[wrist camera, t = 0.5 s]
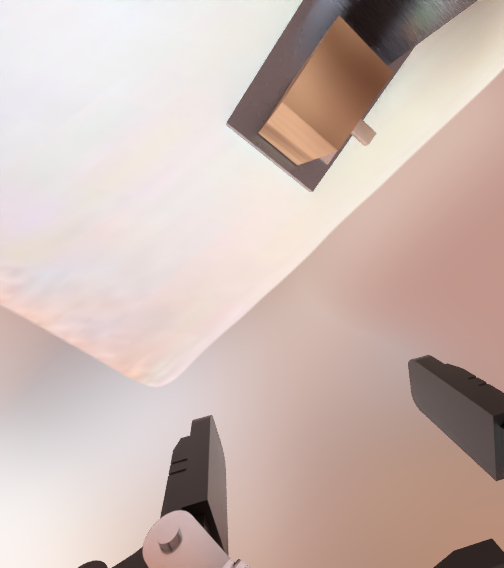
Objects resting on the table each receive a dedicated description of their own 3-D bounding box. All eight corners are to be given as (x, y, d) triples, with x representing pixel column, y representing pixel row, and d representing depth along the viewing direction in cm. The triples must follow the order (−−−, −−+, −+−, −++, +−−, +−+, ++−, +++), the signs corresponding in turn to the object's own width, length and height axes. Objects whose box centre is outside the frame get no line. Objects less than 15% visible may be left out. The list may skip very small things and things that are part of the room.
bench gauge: (309, 191, 32) (357, 189, 22) (226, 125, 29) (235, 85, 19) (410, 47, 30) (520, -34, 19) (330, -42, 27) (408, -195, 16)
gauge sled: (313, 178, 31) (360, 170, 21) (258, 133, 29) (282, 101, 19) (349, 127, 30) (415, 95, 20) (294, 76, 28) (339, 15, 18)
